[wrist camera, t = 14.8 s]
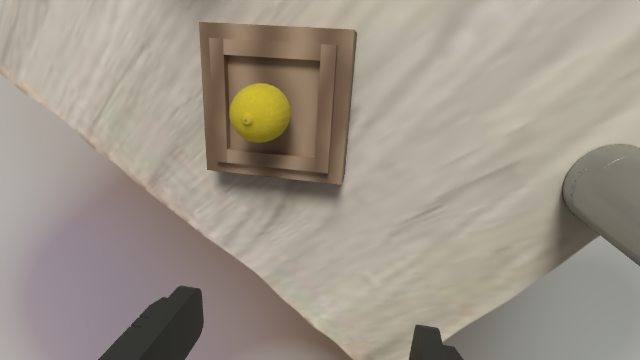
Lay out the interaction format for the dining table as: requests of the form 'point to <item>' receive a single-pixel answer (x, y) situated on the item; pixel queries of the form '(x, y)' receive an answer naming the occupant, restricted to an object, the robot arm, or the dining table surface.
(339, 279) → the dining table surface
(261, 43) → the brown wooden crate
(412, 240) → the dining table surface
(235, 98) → the lemon
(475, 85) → the dining table surface
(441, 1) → the dining table surface
